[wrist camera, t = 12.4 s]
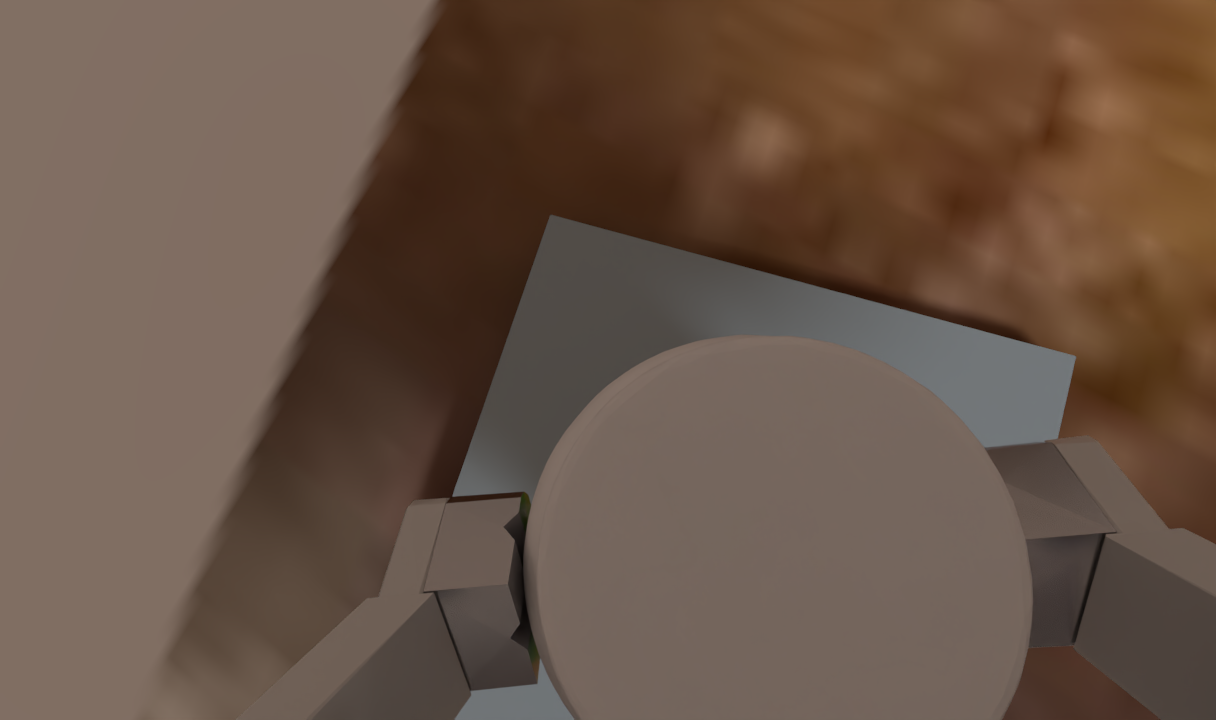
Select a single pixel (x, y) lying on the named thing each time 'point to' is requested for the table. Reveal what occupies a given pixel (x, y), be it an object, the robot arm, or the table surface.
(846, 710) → the supplement bottle
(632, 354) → the pad
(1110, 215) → the table surface
